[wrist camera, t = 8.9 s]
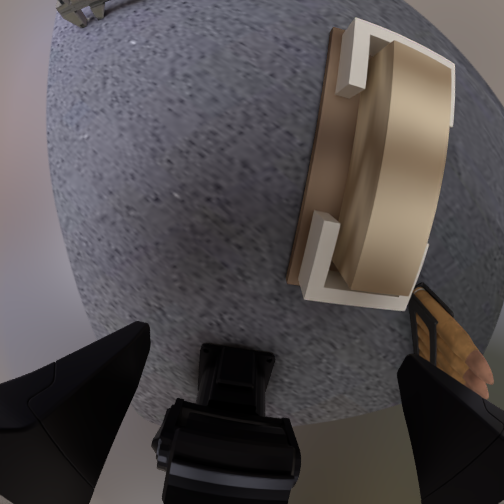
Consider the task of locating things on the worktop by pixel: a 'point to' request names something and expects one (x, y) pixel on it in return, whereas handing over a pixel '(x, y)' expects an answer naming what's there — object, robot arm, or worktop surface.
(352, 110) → the walnut board
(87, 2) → the caliper
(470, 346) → the ammunition clip
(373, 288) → the maple slat
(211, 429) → the robot arm
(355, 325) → the worktop surface
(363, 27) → the end caps
